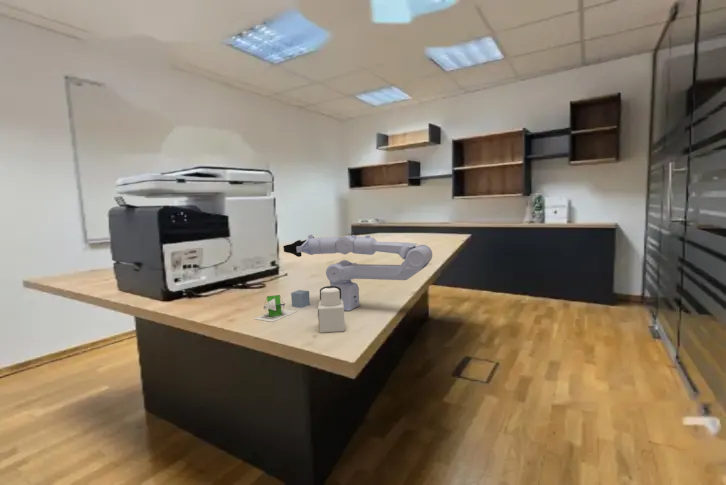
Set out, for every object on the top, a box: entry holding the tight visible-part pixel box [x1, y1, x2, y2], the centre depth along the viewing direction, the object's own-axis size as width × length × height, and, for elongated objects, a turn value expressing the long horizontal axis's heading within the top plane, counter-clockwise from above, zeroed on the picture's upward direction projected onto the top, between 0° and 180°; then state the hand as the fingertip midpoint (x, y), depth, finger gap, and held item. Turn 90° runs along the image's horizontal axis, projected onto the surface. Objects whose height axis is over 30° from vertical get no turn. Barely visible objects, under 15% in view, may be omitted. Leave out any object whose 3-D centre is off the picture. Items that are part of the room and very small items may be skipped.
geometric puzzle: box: [263, 294, 286, 317], centre depth 119 cm, size 7×7×8 cm
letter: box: [253, 308, 298, 323], centre depth 120 cm, size 8×12×1 cm, turn 152°
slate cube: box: [290, 289, 311, 309], centre depth 130 cm, size 4×4×5 cm
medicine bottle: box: [317, 285, 346, 334], centre depth 105 cm, size 7×7×12 cm
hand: (290, 247), depth 132 cm, fingers open, 7 cm apart
